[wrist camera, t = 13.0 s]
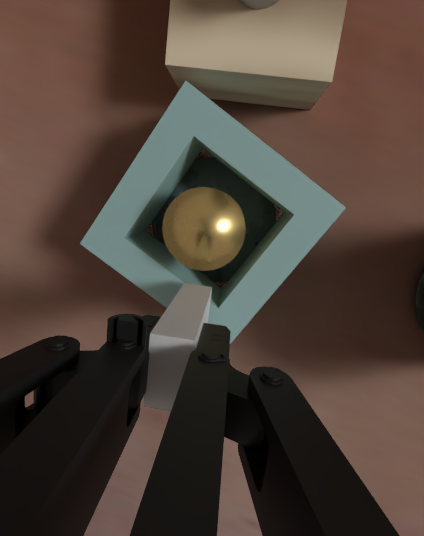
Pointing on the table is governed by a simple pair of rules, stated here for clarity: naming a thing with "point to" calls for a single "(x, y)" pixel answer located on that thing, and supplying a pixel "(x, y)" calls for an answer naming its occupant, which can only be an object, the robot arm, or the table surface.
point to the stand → (255, 49)
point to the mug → (420, 302)
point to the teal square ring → (165, 181)
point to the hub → (213, 220)
